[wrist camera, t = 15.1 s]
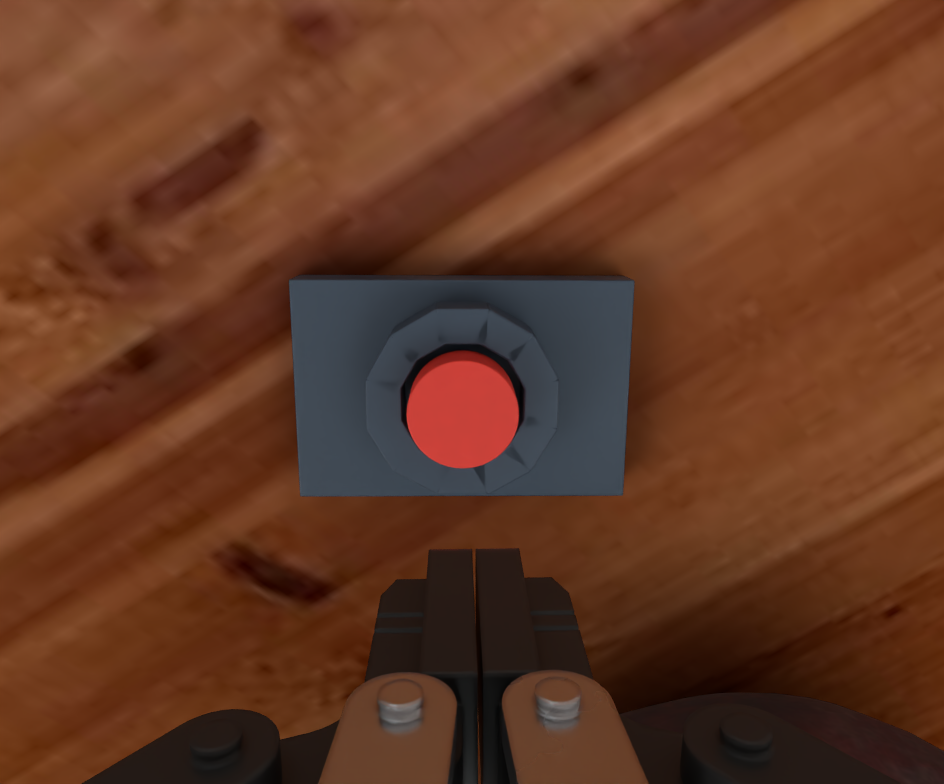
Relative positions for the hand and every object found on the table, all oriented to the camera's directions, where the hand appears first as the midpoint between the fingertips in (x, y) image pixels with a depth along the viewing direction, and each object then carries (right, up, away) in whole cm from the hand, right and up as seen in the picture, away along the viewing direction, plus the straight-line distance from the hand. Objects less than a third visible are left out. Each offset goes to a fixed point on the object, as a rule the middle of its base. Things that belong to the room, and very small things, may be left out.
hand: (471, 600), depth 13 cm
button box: (0, +4, +17) cm, 17 cm away
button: (0, +3, +14) cm, 14 cm away
